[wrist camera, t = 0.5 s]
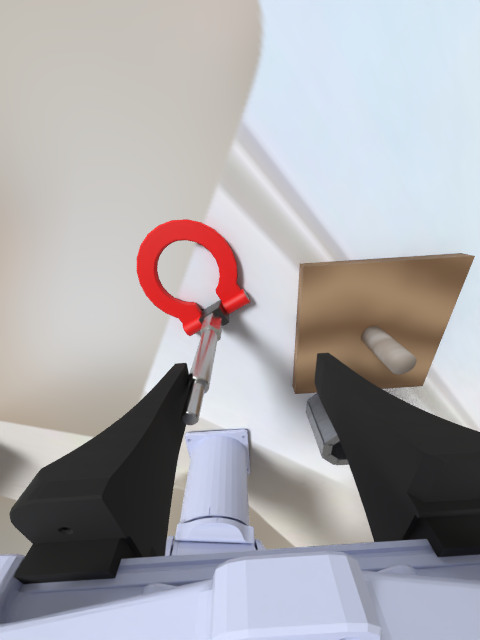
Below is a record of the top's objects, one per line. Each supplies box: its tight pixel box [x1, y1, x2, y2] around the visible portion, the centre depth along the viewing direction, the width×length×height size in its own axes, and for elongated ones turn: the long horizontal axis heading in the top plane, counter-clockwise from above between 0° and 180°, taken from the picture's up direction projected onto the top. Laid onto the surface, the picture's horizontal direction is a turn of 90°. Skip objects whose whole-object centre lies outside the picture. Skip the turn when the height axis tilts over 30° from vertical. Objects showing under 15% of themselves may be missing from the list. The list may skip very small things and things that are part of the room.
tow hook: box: [137, 220, 250, 425], centre depth 14 cm, size 8×13×9 cm
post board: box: [293, 253, 475, 394], centre depth 20 cm, size 14×14×6 cm
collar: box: [306, 393, 349, 465], centre depth 25 cm, size 5×5×6 cm
